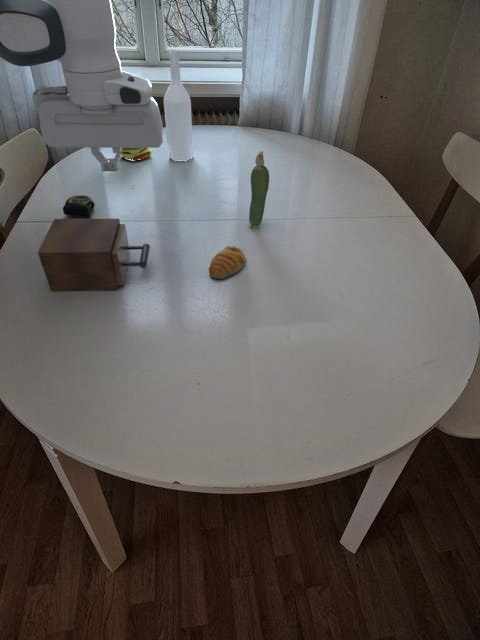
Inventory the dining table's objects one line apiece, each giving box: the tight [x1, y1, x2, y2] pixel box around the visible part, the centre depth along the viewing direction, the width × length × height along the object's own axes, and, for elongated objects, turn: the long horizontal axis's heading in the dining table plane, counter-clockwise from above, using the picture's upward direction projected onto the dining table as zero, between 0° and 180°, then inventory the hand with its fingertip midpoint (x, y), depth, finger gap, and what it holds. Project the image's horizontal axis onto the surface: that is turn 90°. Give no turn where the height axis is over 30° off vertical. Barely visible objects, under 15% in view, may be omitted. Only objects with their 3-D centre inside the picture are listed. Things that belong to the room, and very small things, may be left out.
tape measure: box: [62, 194, 95, 218], centre depth 111 cm, size 7×7×4 cm
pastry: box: [208, 245, 248, 280], centre depth 94 cm, size 9×7×4 cm
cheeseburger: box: [121, 148, 153, 163], centre depth 136 cm, size 10×11×10 cm
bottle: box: [163, 49, 194, 163], centre depth 129 cm, size 8×8×30 cm
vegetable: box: [248, 150, 270, 230], centre depth 102 cm, size 4×4×20 cm
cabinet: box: [37, 218, 121, 292], centre depth 90 cm, size 14×13×10 cm
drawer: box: [111, 223, 151, 286], centre depth 91 cm, size 18×11×8 cm, turn 93°
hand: (110, 170), depth 78 cm, fingers closed
